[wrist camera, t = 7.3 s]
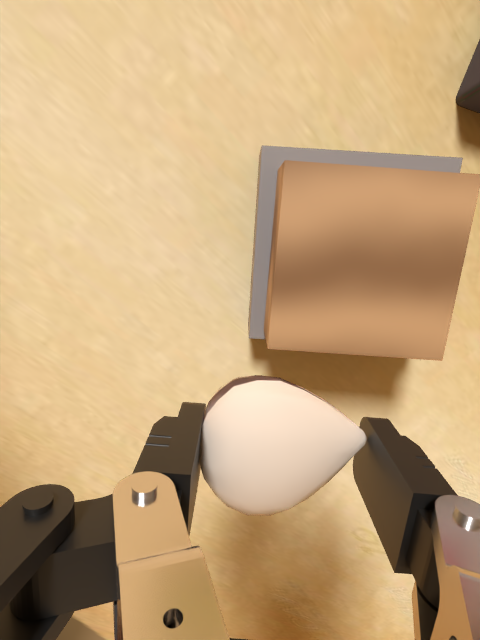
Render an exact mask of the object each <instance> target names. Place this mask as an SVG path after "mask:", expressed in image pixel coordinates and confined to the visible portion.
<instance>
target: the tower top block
mask: <svg viewBox="0 0 480 640" xmlns="http://www.w3.org/2000/svg"><path fill="white" fill-rule="evenodd" d="M479 188H480V174H466V173H453V172H439V171H425V170H412V169H398V168H385V167H371V166H358V165H344V164H331V163H317V162H304V161H290V160H285V161H284V162H283V164H282V165H281V166H280V168H279V169H278V172H277V183H276V195H275V206H274V217H273V229H272V240H271V251H270V263H269V274H268V285H267V297H266V308H265V319H264V334H265V339H266V344H267V349H276V350H291V351H306V352H321V353H336V354H351V355H366V356H381V357H396V358H411V359H426V360H440V361H442V359H443V354H444V350H445V345H446V341H447V336H448V331H449V327H450V322H451V317H452V313H453V308H454V304H455V299H456V294H457V290H458V285H459V281H460V276H461V271H462V267H463V262H464V257H465V253H466V248H467V244H468V239H469V234H470V230H471V225H472V221H473V216H474V211H475V207H476V202H477V197H478V193H479Z"/></svg>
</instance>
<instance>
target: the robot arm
mask: <svg viewBox="0 0 480 640" xmlns="http://www.w3.org/2000/svg"><path fill="white" fill-rule="evenodd" d="M205 410H206V404H202V403H189V402H183V403H182V406H181V409H180V412H179V415H178V417H168V416H164V417H163V418H161V419H160V420H159V421H157V422H156V423H155V424H154V425H153V427H152V430H151V432H150V434H149V437H148V439H147V441H146V445H145V446H144V448H143V451H142V453H141V455H140V458H139V460H138V462H137V465H136V467H135V469H134V471H133V474H131V475H129V476H127V477H125V478H123V479H122V480H121V481H120V482H119V483H118V484H117V485H116V486H115V488H114V491H113V494H111V495H109V496H106V497H103V498H98V499H93V500H86V501H80V502H74V495H73V493H72V492H71V491H70V490H69V489H68V488H66V487H64V486H61V485H54V484H47V485H39V486H35V487H32V488H29V489H26V490H24V491H22V492H20V493H18V494H17V495H15V496H14V497H12V498H11V499H10V500H8V501H7V502H6V503H5V504H4V505H2V506H1V507H0V640H56V638H57V637H58V635H59V634H60V632H61V631H62V630H63V628H64V627H65V625H66V624H67V622H68V621H69V619H70V618H71V616H72V615H73V613H74V611H77V610H81V609H85V608H89V607H93V606H97V605H101V604H105V603H109V602H113V614H114V637H115V640H246V639H232V638H229V635H228V632H227V629H226V626H225V623H224V619H223V616H222V613H221V610H220V606H219V603H218V600H217V597H216V593H215V590H214V587H213V584H212V580H211V577H210V574H209V571H208V567H207V564H206V561H205V558H204V555H203V552H202V550H201V548H200V547H199V546H194V547H192V545H191V542H190V539H189V535H190V529H191V523H192V517H193V511H194V505H195V499H196V493H197V487H198V481H199V475H200V469H201V466H200V463H199V457H200V444H201V430H202V426H203V423H204V414H205ZM359 428H360V429H362V430H363V431H364V433H365V435H366V437H367V441H366V443H365V445H364V446H363V447H362V448H361V449H360V450H359V451H358V452H357V453H356V454H355V455H354V460H353V474H354V479H355V482H356V484H357V486H358V489H359V491H360V493H361V496H362V498H363V500H364V503H365V505H366V507H367V510H368V512H369V514H370V517H371V519H372V521H373V524H374V526H375V528H376V531H377V533H378V535H379V538H380V540H381V542H382V545H383V547H384V549H385V552H386V554H387V556H388V559H389V561H390V563H391V566H392V568H393V570H394V573H405V574H413V576H414V578H415V583H414V587H413V591H412V606H413V621H414V636H415V640H480V504H478V503H476V502H474V501H472V500H470V499H467V498H464V497H461V496H458V495H457V494H456V493H455V491H454V490H453V489H452V488H451V486H450V485H449V484H448V482H447V481H446V480H445V479H444V477H443V476H442V475H441V473H440V472H439V471H438V470H437V469H435V466H434V464H433V463H432V462H431V461H430V459H428V457H427V455H426V454H425V453H424V452H423V450H422V449H421V448H420V446H418V445H417V444H416V443H414V442H413V441H411V440H410V439H409V438H407V437H406V436H400V434H399V433H398V431H397V430H396V429H395V427H394V426H393V425H392V423H391V422H390V421H389V420H388V419H383V418H371V417H363V418H362V420H361V422H360V427H359Z"/></svg>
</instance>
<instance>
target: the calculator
mask: <svg viewBox="0 0 480 640" xmlns="http://www.w3.org/2000/svg"><path fill="white" fill-rule="evenodd" d="M456 103H457V104H458V105H459V106H461V107H464V108H466V109H469V110H472V111H475V112H477V113H480V40H479V42H478V45H477V47H476V50H475V52H474V55H473V57H472V59H471V62H470V64H469V67H468V69H467V72H466V74H465V76H464V79H463V81H462V84H461V86H460V89H459V91H458V94H457V96H456Z"/></svg>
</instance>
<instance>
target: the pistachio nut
mask: <svg viewBox="0 0 480 640" xmlns="http://www.w3.org/2000/svg"><path fill="white" fill-rule="evenodd" d="M366 441H367V437H366V435H365V433H364V431H363V430H362V429H360V428H359V427H358V426H357V425H356V424H355V423H354V422H353V421H351V420H350V419H349V418H348V417H347V416H346V415H344V414H343V413H342V412H341V411H339V410H338V409H336V408H335V407H334V406H332V405H331V404H330V403H328V402H327V401H325V400H324V399H322V398H321V397H319V396H317V395H315V394H313V393H312V392H310V391H308V390H306V389H305V388H303V387H301V386H298V385H295V384H292V383H290V382H288V381H286V380H283V379H281V378H277V377H268V376H262V375H255V376H247V377H238V378H236V379H233V380H232V381H230V382H229V383H227V384H226V385H224V386H222V387H221V388H220V389H219V390H218V391H217V392H216V394H215V395H214V396H213V397H212V399H211V400H210V401H209V403H208V405H207V408H206V410H205V414H204V423H203V426H202V430H201V444H200V457H199V463H200V466H201V470H202V473H203V477H204V479H205V480H206V482H207V483H208V485H209V486H210V488H211V489H212V491H213V492H214V493H215V494H216V496H217V497H218V498H219V499H220V500H221V501H222V502H223V503H225V504H226V505H227V506H228V507H230V508H232V509H235V510H237V511H239V512H241V513H244V514H246V515H272V514H275V513H278V512H281V511H284V510H287V509H290V508H292V507H294V506H295V505H297V504H299V503H301V502H302V501H304V500H306V499H308V498H309V497H310V496H312V495H313V494H314V493H315V492H316V491H318V490H319V489H320V488H321V487H323V486H324V485H325V484H326V483H327V482H329V481H330V480H331V479H332V478H333V477H334V476H335V475H336V474H337V473H338V472H339V471H340V470H341V469H342V468H343V467H344V466H345V465H346V463H347V462H348V461H349V460H350V459H351V458H352V457H353V456H354V455H355V454H356V453H357V452H358V451H359V450H360V449H361V448H362V447H363V446H364V445H365V443H366Z"/></svg>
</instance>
